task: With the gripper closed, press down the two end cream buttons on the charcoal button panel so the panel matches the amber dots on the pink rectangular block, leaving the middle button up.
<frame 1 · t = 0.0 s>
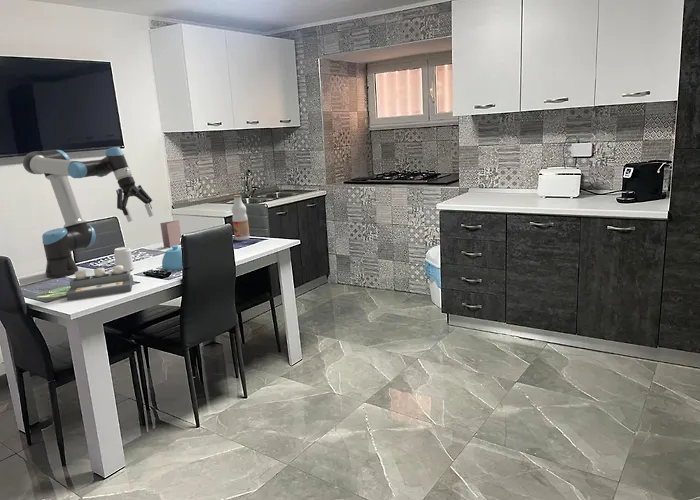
hand: (141, 218, 262), 28 cm above the table, tool tilted 20°, fingers open, 13 cm apart
fruit juice: (242, 239, 336), on the table
beverage can: (125, 271, 276), on the table
button panel: (102, 290, 243), on the table
button 1: (80, 274, 241), point 8 cm above the table, slide at 0.0 cm
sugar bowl: (178, 267, 275), on the table
button 2: (118, 269, 246), point 8 cm above the table, slide at 0.0 cm
middle button: (99, 272, 244), point 8 cm above the table, slide at 0.0 cm
pink rectangular block: (174, 246, 330), on the table
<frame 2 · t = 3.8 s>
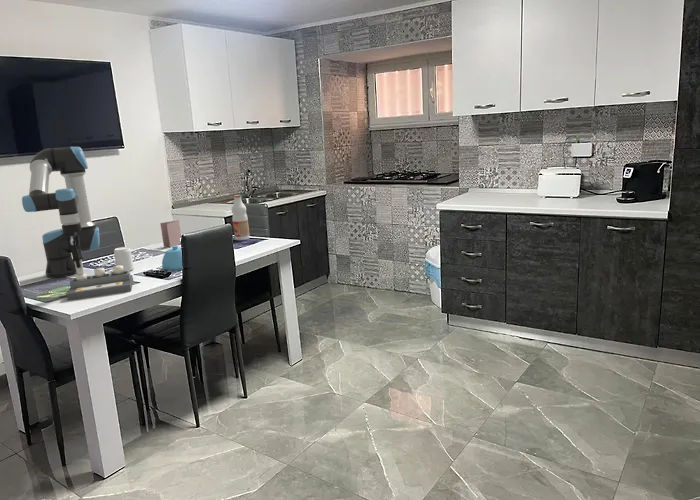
hand: (80, 274, 241), 8 cm above the table, tool pointing down, fingers closed
button 1: (81, 277, 242), point 7 cm above the table, slide at 1.4 cm, touching gripper
everything else where it was.
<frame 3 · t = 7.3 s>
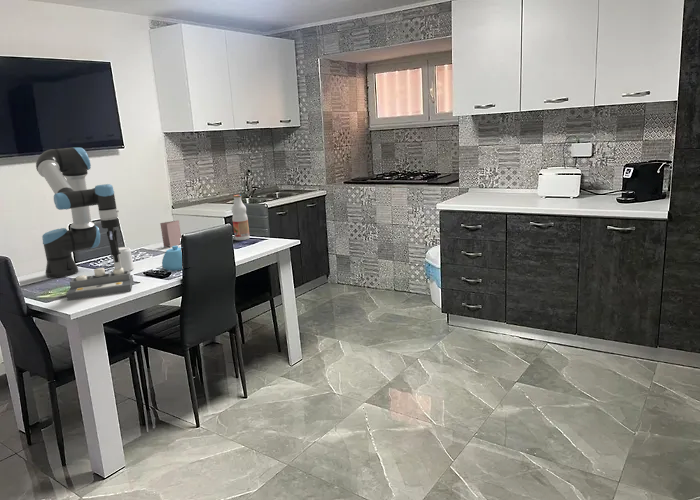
hand: (118, 268, 246), 9 cm above the table, tool pointing down, fingers closed
button 1: (81, 279, 242), point 6 cm above the table, slide at 2.4 cm
button 2: (118, 272, 246), point 7 cm above the table, slide at 1.1 cm, touching gripper
everything else where it was.
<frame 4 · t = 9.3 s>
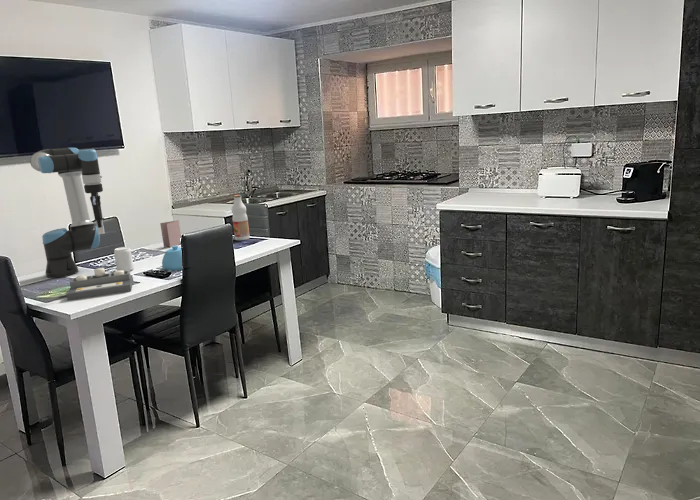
hand: (101, 233, 248), 24 cm above the table, tool pointing down, fingers closed
button 2: (119, 274, 247), point 6 cm above the table, slide at 2.4 cm
everything else where it was.
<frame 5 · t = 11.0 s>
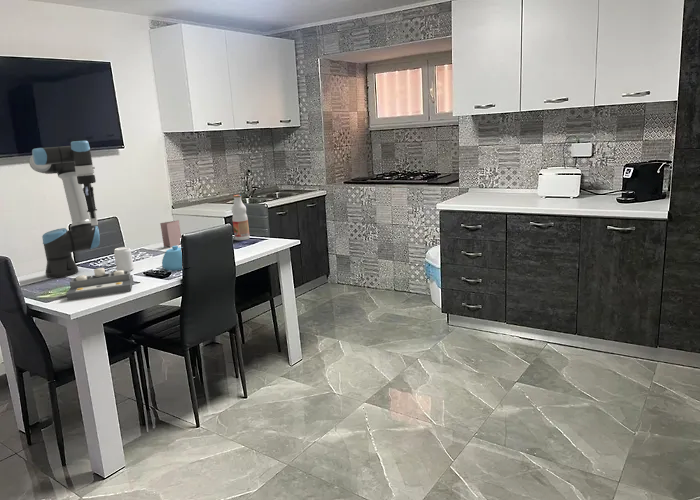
hand: (94, 224, 249), 28 cm above the table, tool pointing down, fingers closed
nothing on the table moved.
at the end: button 1 slide at 2.4 cm; button 2 slide at 2.4 cm; middle button slide at 0.0 cm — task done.
